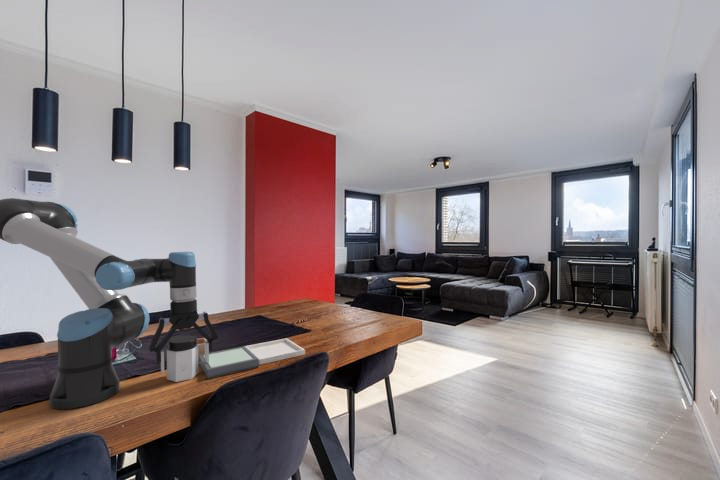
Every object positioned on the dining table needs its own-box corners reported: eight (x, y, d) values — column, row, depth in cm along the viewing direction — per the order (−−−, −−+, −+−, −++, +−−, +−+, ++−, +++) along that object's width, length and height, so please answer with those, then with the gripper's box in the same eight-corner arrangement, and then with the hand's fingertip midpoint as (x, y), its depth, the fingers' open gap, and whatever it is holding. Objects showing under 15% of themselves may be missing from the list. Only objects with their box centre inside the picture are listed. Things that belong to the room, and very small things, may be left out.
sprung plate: (211, 370, 105) (211, 367, 105) (203, 358, 116) (203, 355, 116) (253, 361, 113) (253, 358, 113) (241, 350, 124) (241, 348, 124)
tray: (259, 364, 115) (259, 359, 115) (244, 350, 130) (244, 346, 130) (305, 354, 126) (305, 349, 126) (286, 342, 140) (286, 338, 140)
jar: (167, 384, 100) (167, 345, 100) (166, 375, 107) (165, 338, 107) (200, 377, 105) (200, 340, 105) (196, 369, 112) (196, 333, 112)
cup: (184, 364, 116) (184, 347, 116) (181, 357, 123) (181, 341, 122) (209, 359, 121) (209, 343, 121) (205, 353, 127) (205, 337, 127)
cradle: (207, 379, 104) (207, 369, 104) (198, 363, 117) (198, 355, 117) (258, 367, 113) (258, 358, 113) (244, 354, 126) (244, 346, 126)
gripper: (138, 307, 96) (140, 381, 96) (226, 296, 110) (228, 360, 110) (137, 303, 102) (139, 372, 102) (220, 293, 116) (222, 354, 116)
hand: (185, 366), depth 106 cm, fingers open, 12 cm apart
